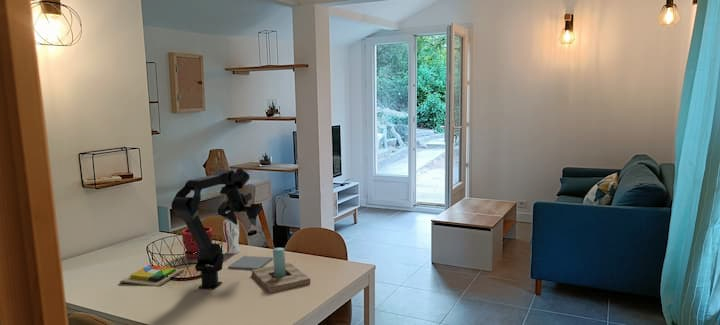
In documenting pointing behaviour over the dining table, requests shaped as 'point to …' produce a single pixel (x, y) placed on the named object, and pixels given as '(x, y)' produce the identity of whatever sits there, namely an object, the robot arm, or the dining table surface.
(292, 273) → the walnut puzzle board
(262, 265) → the slate tile
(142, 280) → the wooden puzzle
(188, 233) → the plant pot
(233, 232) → the white can
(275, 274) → the pale teal peg
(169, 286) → the dining table surface
